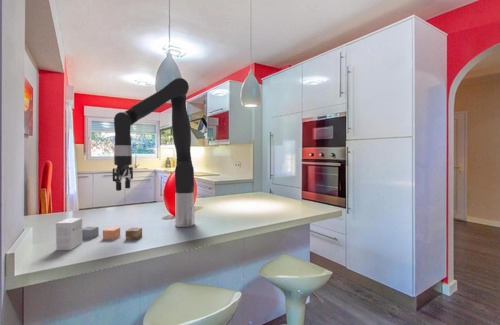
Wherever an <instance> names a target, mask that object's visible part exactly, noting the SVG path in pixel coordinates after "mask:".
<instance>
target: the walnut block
mask: <svg viewBox="0 0 500 325" xmlns="http://www.w3.org/2000/svg"><path fill="white" fill-rule="evenodd" d="M142 237H143V227H129V228H127V229H126V230H125V241H138V240H139V239H140V238H142Z"/></svg>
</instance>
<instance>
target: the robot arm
mask: <svg viewBox="0 0 500 325" xmlns="http://www.w3.org/2000/svg"><path fill="white" fill-rule="evenodd" d="M189 86H190V85H189V83H188V81H187V80H186V79H185V78H182V77H176V78H173V79H172V80H171V81H170V82H169V83H168V84H167V85H165V86H164V87H163V88H161V89H159V90H158V91H157V92H155V93H153V94H151V95H150V96H148V97H146V98H144V99H143V100H140V101H139V102H137V103H135V104H134V105H132V106H131V107H130V108H129V109H127V110H126V111H120V112H117V113H115V115H114V117H113V123H114V124H113V126H114V127H113V128H114V150H113V151H114V153H113V154H114V155H113V157H114V158H113V159H114V160H113V162H114V163H113V164H114V166H116V167H115V168H112V182H115V190H116V191H118V192H119V191H122V181H123V179H124V184H125V185H124V188H125V189H131V181H132V180H133V179H134V173H133V172H134V167H132V164H133V152H132V151H133V149H132V135H131V126H132V125H134V124H135V123H137V122H138V121H139V120H142V119H143V118H145V117H147V116H148V115H150V114H151V113H153V112H155V111H156V110H157V109H159V108H160V107H162V106H163V105H164V104H166V103H167V102H169V101H170V104H171V129H172V130H171V131H172V138H173V144H174V147H175V152H176V154H175V156H176V157H175V158H176V159H175V160H176V164H175V166H176V167H174V168H175V169H174V187H175V188H174V190H175V191H174V192H175V194H174V195H175V200H174V201H175V202H174V203H175V204H174V205H175V206H174V208H175V209H174V210H175V213H174V214H175V216H174V218H175V219H174V220H175V221H174V222H175V226H176V227H177V228H189V227H193V226H194V225H195V221H196V220H195V218H196V215H195V210H196V208H195V207H196V206H195V205H194V197H195V196H194V189H195V169H194V165H193V162H192V154H191V145H192V132H191V131H192V130H191V122H190V116H189V114H188V110H187V94H188V93H189V89H190V88H189Z"/></svg>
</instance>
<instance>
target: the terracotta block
mask: <svg viewBox="0 0 500 325" xmlns="http://www.w3.org/2000/svg"><path fill="white" fill-rule="evenodd" d="M117 237H118V238H119V237H121V227H118V226H117V227H115V226H109V227H107V228H104V229H102V240H113V239H114V240H116V239H118V238H117Z"/></svg>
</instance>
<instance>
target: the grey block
mask: <svg viewBox="0 0 500 325" xmlns="http://www.w3.org/2000/svg"><path fill="white" fill-rule="evenodd" d="M99 234H100V233H99V226H86V227H84V228H82V240H92V239H94V238H95V239H96V237H98V236H99Z"/></svg>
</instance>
